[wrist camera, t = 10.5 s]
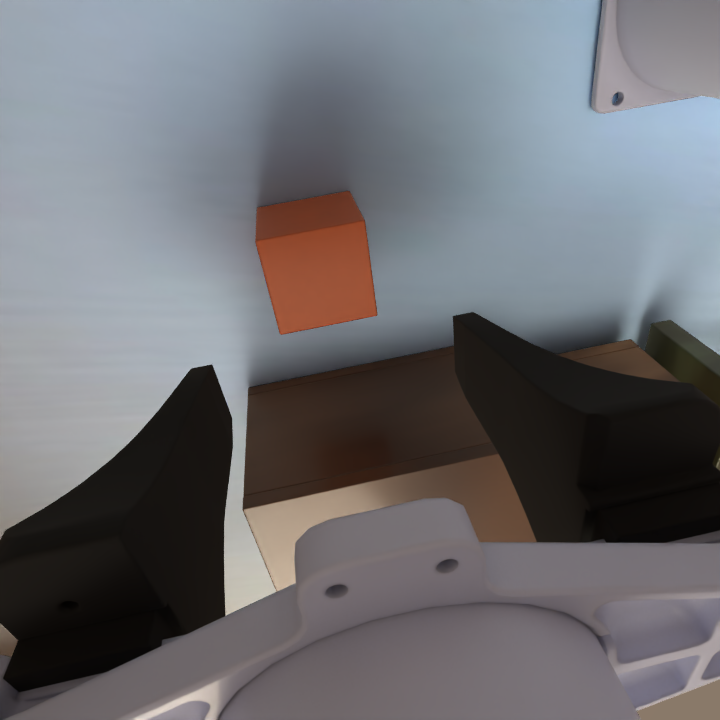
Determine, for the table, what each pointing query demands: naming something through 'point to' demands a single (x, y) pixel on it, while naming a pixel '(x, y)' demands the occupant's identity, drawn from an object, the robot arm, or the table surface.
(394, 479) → the cabinet
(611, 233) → the table surface
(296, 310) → the block
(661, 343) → the drawer
